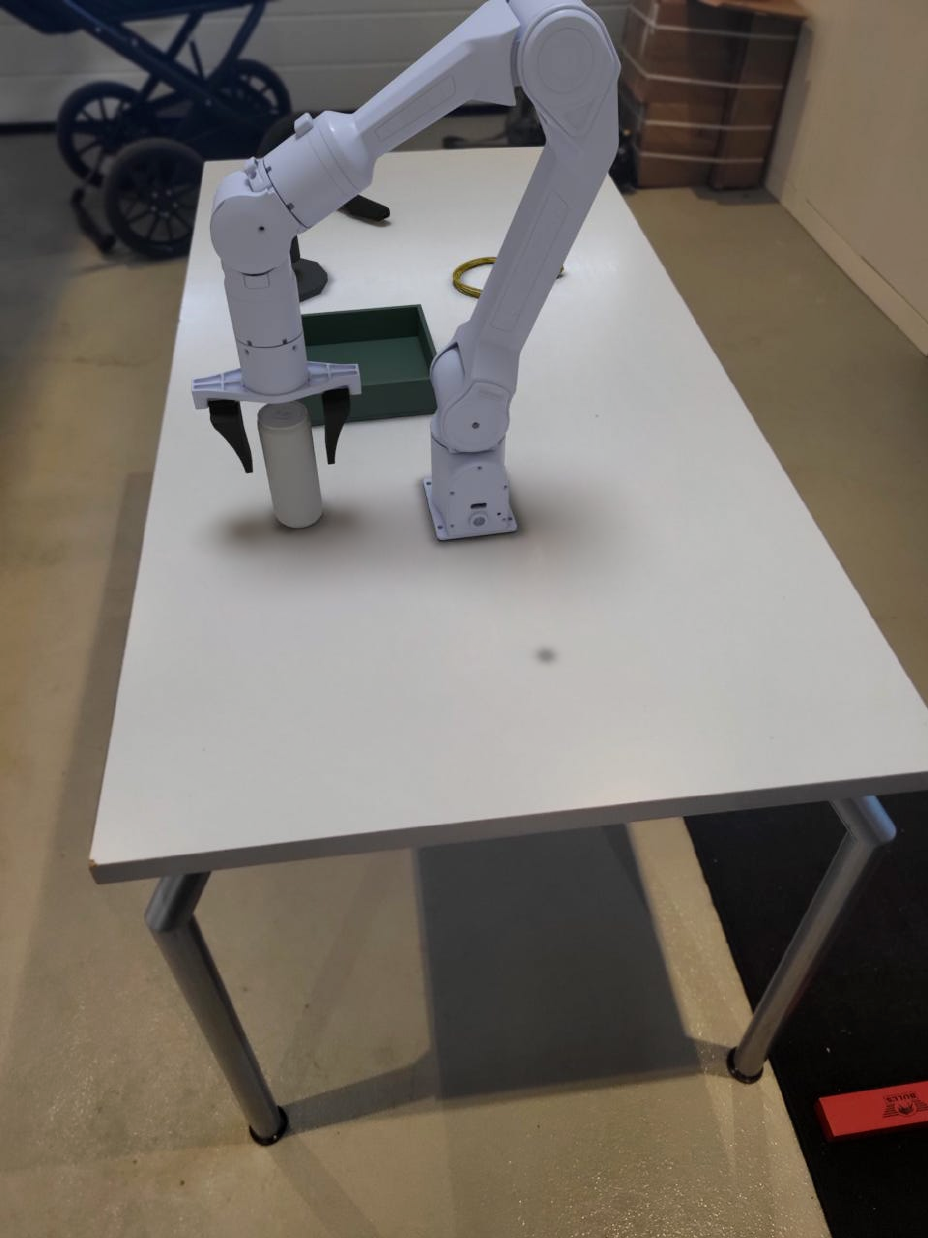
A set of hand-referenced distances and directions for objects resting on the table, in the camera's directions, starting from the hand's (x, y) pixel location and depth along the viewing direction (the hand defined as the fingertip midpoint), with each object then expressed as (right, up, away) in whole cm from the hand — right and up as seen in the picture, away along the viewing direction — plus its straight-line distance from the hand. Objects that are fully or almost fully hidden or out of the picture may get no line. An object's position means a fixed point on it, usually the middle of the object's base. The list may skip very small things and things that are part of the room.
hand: (290, 462), depth 84 cm
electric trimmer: (-1, +49, +56) cm, 74 cm away
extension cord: (+23, +33, +40) cm, 56 cm away
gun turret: (-8, +29, +37) cm, 48 cm away
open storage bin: (+4, +14, +22) cm, 26 cm away
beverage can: (0, -5, +5) cm, 7 cm away
